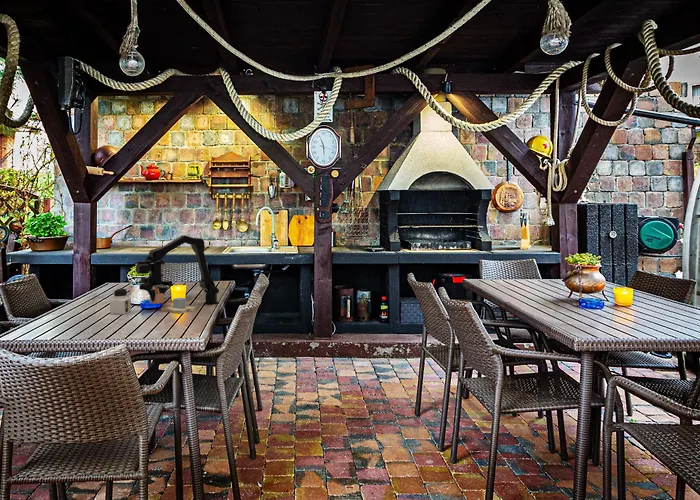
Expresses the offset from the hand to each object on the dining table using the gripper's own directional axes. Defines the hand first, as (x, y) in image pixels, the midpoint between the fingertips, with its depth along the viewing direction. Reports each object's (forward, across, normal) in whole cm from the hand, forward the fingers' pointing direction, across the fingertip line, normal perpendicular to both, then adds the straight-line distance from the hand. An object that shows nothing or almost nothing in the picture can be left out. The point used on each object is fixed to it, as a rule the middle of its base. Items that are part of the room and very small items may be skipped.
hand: (156, 300), depth 300 cm
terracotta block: (+1, 0, 0) cm, 1 cm away
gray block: (+4, -6, +11) cm, 13 cm away
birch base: (+5, -6, +11) cm, 14 cm away
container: (+6, +15, -11) cm, 19 cm away
